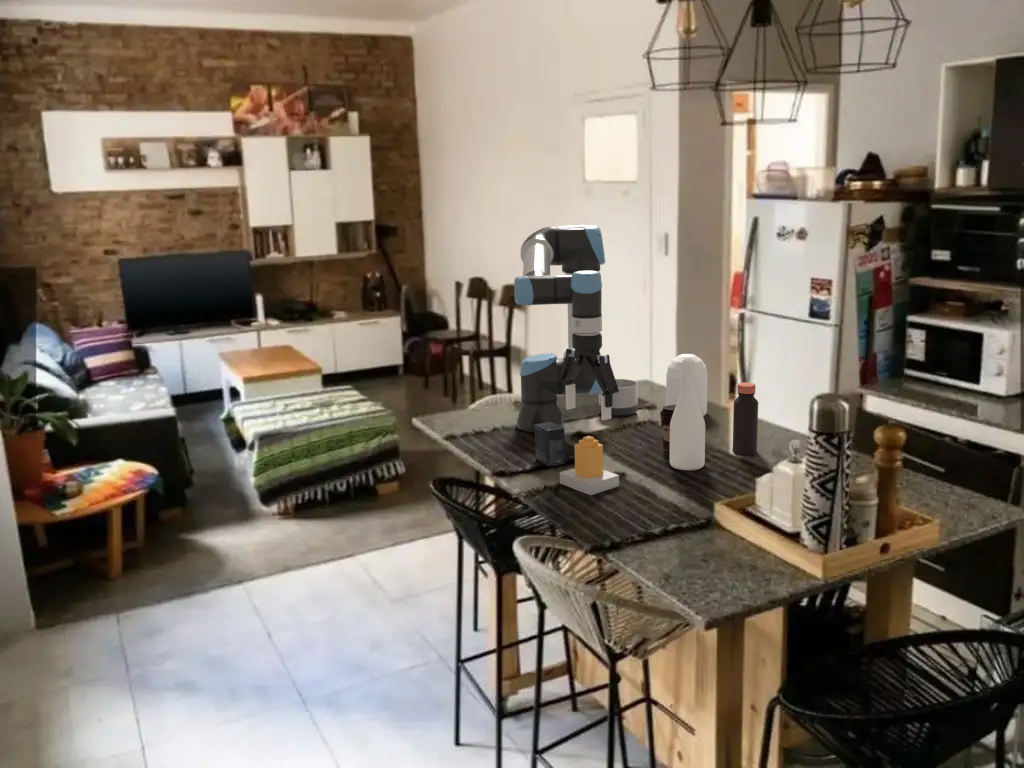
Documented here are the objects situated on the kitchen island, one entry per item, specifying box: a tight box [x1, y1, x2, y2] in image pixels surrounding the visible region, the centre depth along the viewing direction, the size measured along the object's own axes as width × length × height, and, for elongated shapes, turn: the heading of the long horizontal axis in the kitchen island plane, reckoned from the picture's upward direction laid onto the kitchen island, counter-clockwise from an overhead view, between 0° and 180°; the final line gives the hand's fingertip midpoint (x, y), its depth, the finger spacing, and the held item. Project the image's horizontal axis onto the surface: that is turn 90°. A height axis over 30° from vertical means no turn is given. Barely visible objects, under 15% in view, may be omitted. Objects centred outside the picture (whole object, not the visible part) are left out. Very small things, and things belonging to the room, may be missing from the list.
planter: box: [598, 378, 639, 418], centre depth 303 cm, size 13×13×10 cm
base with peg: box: [559, 467, 620, 496], centre depth 238 cm, size 15×10×8 cm, turn 37°
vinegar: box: [732, 381, 759, 456], centre depth 257 cm, size 7×7×20 cm
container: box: [665, 353, 708, 417], centre depth 300 cm, size 14×13×20 cm
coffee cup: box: [659, 405, 676, 453], centre depth 262 cm, size 9×8×13 cm
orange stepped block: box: [574, 435, 604, 479], centre depth 236 cm, size 5×5×10 cm
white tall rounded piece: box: [669, 359, 706, 471], centre depth 246 cm, size 10×10×30 cm
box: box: [534, 422, 566, 467], centre depth 256 cm, size 8×6×11 cm
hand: (588, 413), depth 233 cm, fingers open, 13 cm apart
